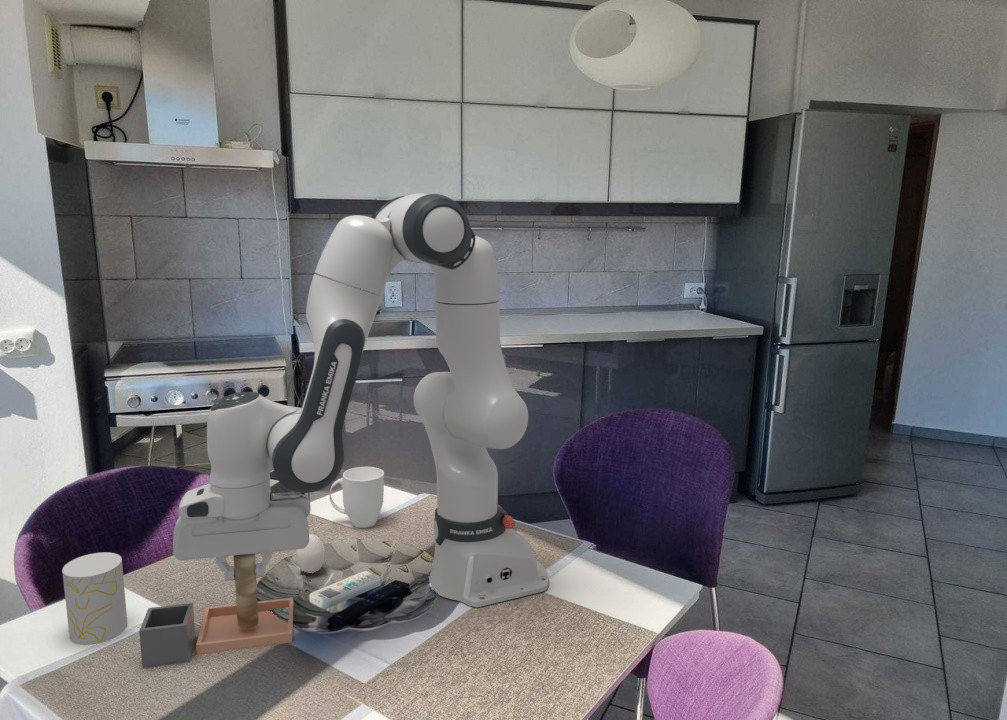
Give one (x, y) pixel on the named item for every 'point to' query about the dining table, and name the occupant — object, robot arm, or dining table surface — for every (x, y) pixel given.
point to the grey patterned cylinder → (95, 598)
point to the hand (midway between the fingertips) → (245, 577)
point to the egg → (311, 555)
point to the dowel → (246, 590)
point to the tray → (227, 635)
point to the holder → (167, 635)
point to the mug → (361, 495)
